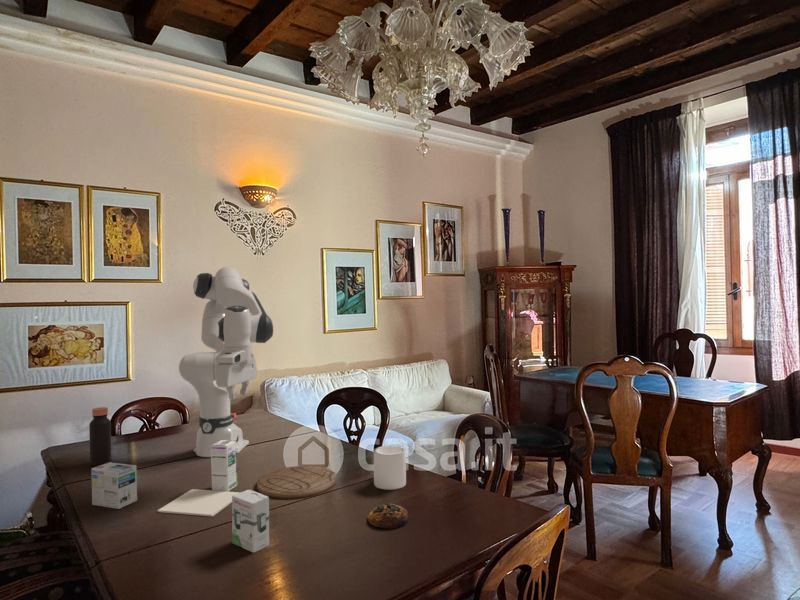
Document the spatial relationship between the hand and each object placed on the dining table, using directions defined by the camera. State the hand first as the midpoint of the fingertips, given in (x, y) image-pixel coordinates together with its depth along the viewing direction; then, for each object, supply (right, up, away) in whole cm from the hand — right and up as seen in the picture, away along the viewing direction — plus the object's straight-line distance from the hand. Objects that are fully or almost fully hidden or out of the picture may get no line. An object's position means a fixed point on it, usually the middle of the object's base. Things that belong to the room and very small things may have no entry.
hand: (238, 396), depth 167 cm
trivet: (+21, -28, -5) cm, 35 cm away
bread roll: (+51, -27, -33) cm, 66 cm away
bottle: (-56, -28, +18) cm, 65 cm away
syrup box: (-1, -27, -9) cm, 29 cm away
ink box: (+18, -27, -45) cm, 56 cm away
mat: (-4, -27, -20) cm, 34 cm away
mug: (+50, -27, -5) cm, 57 cm away
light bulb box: (-30, -28, -19) cm, 45 cm away
